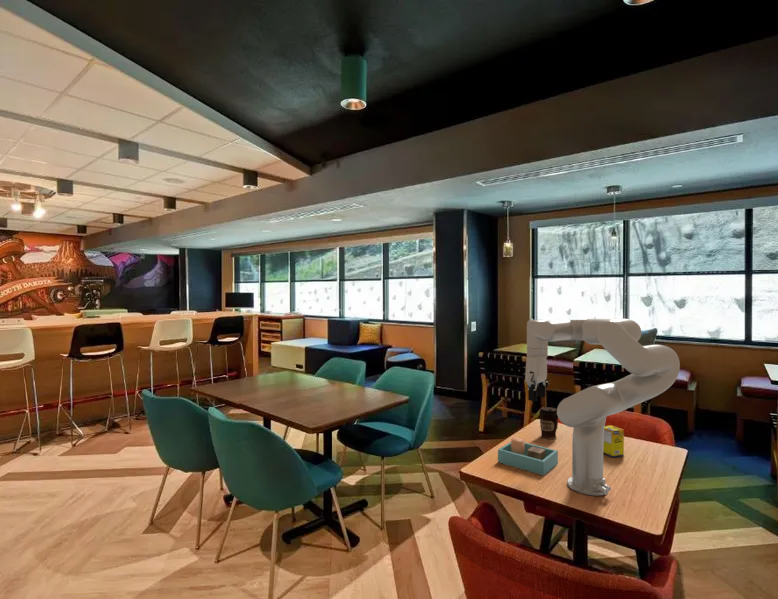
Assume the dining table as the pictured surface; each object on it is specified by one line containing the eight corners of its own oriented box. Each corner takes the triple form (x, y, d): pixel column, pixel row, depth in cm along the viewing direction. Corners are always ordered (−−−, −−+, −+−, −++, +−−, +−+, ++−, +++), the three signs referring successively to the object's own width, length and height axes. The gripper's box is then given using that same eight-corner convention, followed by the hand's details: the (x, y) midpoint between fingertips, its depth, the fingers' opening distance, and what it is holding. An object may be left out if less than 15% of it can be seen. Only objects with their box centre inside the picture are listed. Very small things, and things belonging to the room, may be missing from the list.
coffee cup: (554, 441, 186) (554, 412, 186) (535, 437, 192) (536, 409, 192) (561, 436, 193) (561, 408, 193) (543, 432, 198) (543, 405, 198)
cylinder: (527, 459, 165) (527, 441, 165) (516, 460, 163) (516, 443, 163) (519, 454, 170) (519, 437, 169) (508, 456, 168) (508, 438, 168)
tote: (557, 463, 163) (557, 450, 163) (543, 475, 153) (543, 461, 153) (513, 451, 175) (513, 439, 175) (497, 462, 165) (497, 449, 164)
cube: (545, 462, 162) (545, 449, 162) (540, 466, 158) (540, 453, 158) (532, 459, 165) (532, 446, 165) (527, 463, 161) (527, 450, 161)
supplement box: (624, 456, 170) (624, 429, 170) (612, 458, 168) (612, 431, 168) (611, 450, 176) (612, 424, 175) (600, 452, 174) (600, 426, 174)
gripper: (536, 348, 169) (536, 392, 170) (517, 353, 156) (517, 401, 157) (555, 350, 165) (555, 395, 165) (537, 356, 151) (537, 405, 152)
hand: (536, 398), depth 161 cm, fingers open, 7 cm apart
